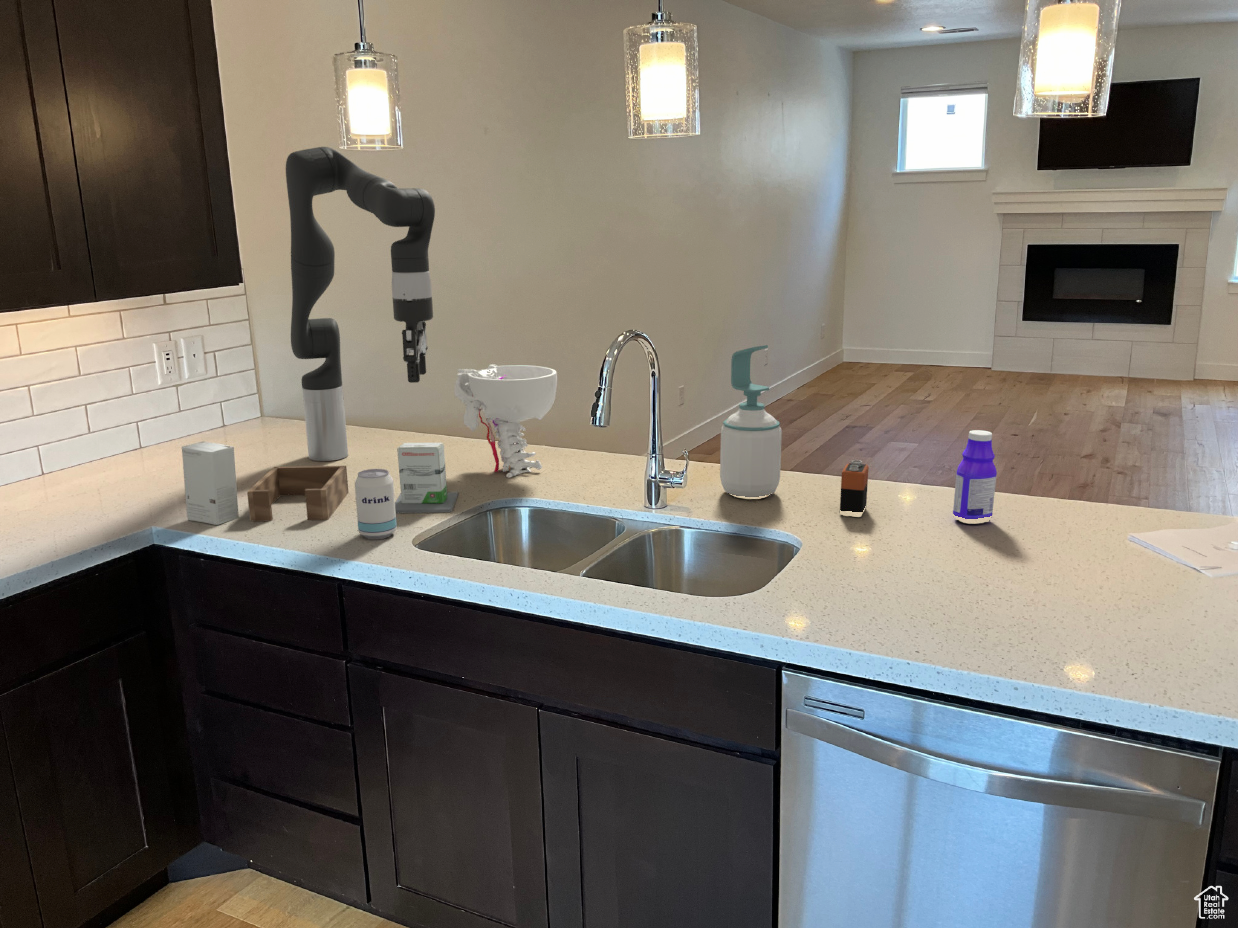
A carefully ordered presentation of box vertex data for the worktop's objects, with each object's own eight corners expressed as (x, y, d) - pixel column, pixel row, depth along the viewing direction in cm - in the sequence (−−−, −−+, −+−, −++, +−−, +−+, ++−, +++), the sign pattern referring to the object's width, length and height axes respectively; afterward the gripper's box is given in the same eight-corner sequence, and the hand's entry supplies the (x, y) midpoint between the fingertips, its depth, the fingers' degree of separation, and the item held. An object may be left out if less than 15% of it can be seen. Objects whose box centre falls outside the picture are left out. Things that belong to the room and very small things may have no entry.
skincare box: (186, 520, 195) (177, 446, 191) (210, 512, 200) (202, 439, 196) (219, 526, 191) (210, 451, 187) (242, 517, 196) (234, 443, 193)
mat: (400, 495, 209) (400, 492, 209) (458, 494, 210) (458, 491, 210) (390, 513, 198) (390, 510, 198) (451, 511, 198) (451, 509, 198)
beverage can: (359, 542, 181) (354, 479, 178) (358, 531, 187) (353, 469, 184) (398, 539, 183) (394, 476, 180) (395, 527, 189) (391, 466, 186)
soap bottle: (750, 506, 200) (754, 351, 192) (707, 493, 209) (709, 344, 201) (792, 494, 207) (797, 345, 199) (748, 482, 217) (752, 339, 209)
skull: (573, 465, 232) (571, 367, 226) (539, 486, 215) (535, 381, 209) (477, 456, 240) (473, 362, 234) (437, 476, 223) (431, 375, 217)
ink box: (448, 497, 206) (445, 441, 203) (442, 504, 201) (439, 447, 198) (407, 496, 206) (403, 441, 203) (400, 503, 202) (396, 446, 199)
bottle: (977, 514, 193) (985, 427, 189) (998, 523, 188) (1006, 433, 184) (946, 519, 191) (953, 430, 186) (966, 528, 186) (974, 437, 181)
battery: (866, 508, 198) (869, 459, 195) (861, 518, 192) (864, 468, 189) (844, 506, 199) (846, 458, 197) (839, 516, 193) (841, 466, 191)
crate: (277, 494, 211) (274, 466, 210) (348, 492, 212) (346, 465, 210) (250, 521, 194) (247, 491, 192) (328, 519, 194) (325, 489, 193)
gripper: (398, 292, 199) (404, 372, 204) (385, 299, 186) (391, 385, 190) (436, 291, 200) (441, 371, 204) (426, 299, 186) (431, 384, 190)
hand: (417, 378), depth 197 cm, fingers open, 8 cm apart
